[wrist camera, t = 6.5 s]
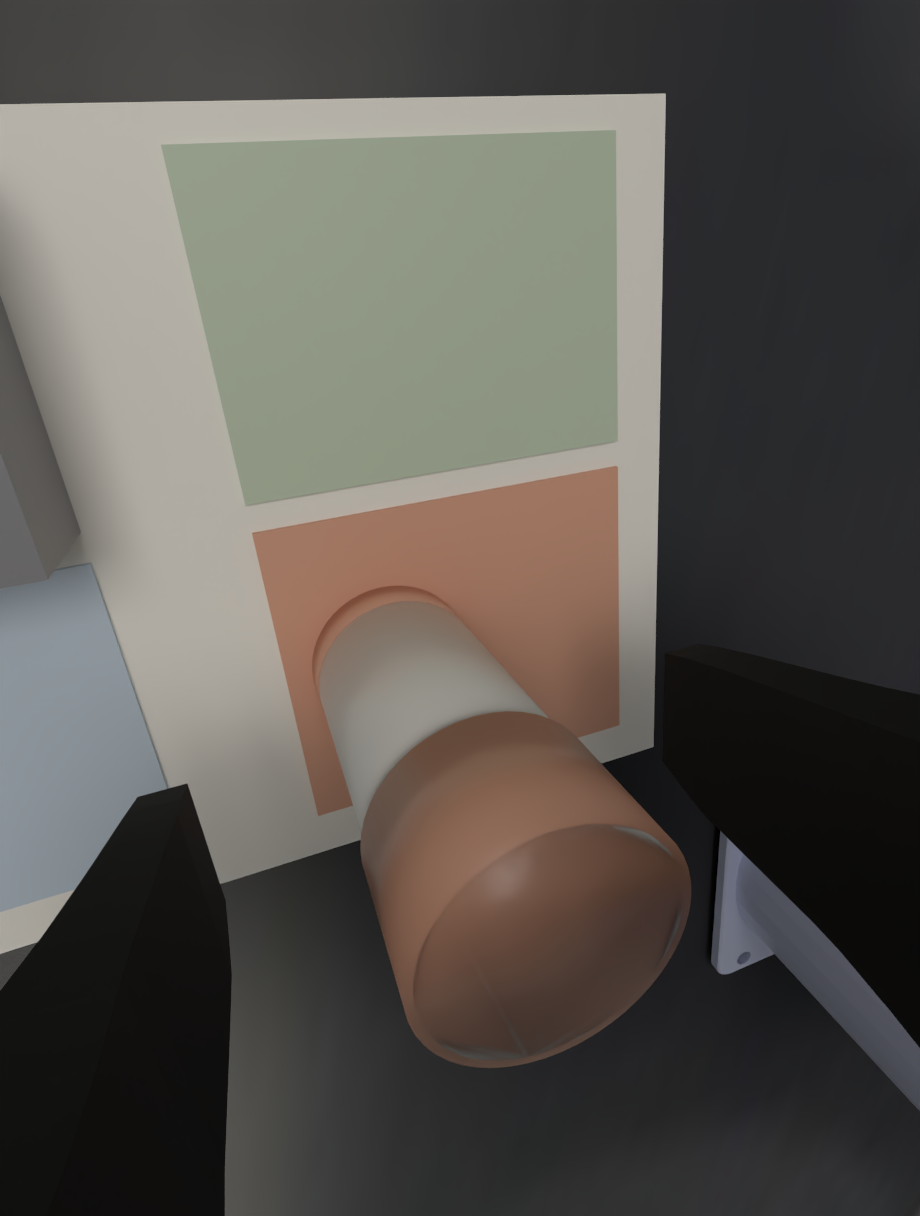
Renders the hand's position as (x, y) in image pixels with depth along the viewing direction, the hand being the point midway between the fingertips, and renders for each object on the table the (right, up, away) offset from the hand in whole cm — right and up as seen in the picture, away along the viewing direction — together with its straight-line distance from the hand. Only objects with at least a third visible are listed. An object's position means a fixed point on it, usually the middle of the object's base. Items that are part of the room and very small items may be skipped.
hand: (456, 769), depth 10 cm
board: (-4, +4, +3) cm, 6 cm away
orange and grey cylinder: (-1, +1, +3) cm, 4 cm away
